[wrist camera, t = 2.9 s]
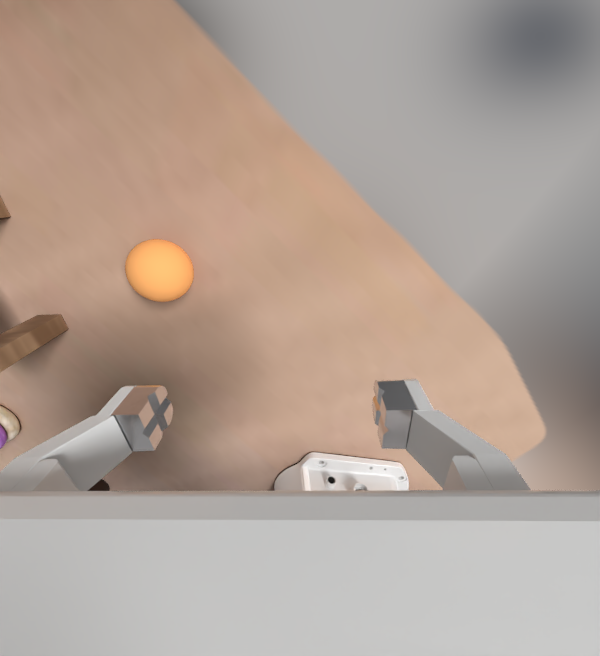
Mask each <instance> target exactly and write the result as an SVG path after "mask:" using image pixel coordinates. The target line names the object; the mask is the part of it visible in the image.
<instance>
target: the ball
mask: <svg viewBox="0 0 600 656" xmlns="http://www.w3.org/2000/svg"><path fill="white" fill-rule="evenodd" d="M125 271H126V276H127V279H128V281H129V283H130V285H131V286H132V287H133V289H134V290H135V291H136V292H137V293H139V294H140V295H142V296H143V297H145V298H147V299H150V300H153V301H158V302H167V301H172V300H175V299H177V298H179V297H181V296H182V295H184V294H185V293H186V292H187V291H188V289H189V288H190V286H191V284H192V282H193V277H194V269H193V265H192V262H191V260H190V258H189V256H188V255H187V254H186V252H185V251H184V250H183V249H182V248H180V247H179V246H178V245H176V244H174V243H172V242H170V241H166V240H161V239H152V240H147V241H144V242H142V243H140V244H138V245H137V246H135V247H134V248H133V249H132V250H131V252H130V253H129V255H128V257H127V260H126V265H125Z"/></svg>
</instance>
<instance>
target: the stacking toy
mask: <svg viewBox="0 0 600 656" xmlns="http://www.w3.org/2000/svg"><path fill="white" fill-rule="evenodd" d="M19 431H20V424H19V421H18V419H17V418H16V417H15V415H14V414H13V413H12V412H10V411H9V410H8V409H6V408H4V407H2V406H0V448H2V447H3V446H4V444H5V443H6V442H7V441H10V440H12V439H13V438H15V437H16V436H17V435H18V433H19Z"/></svg>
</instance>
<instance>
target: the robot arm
mask: <svg viewBox="0 0 600 656" xmlns="http://www.w3.org/2000/svg"><path fill="white" fill-rule="evenodd" d="M374 392H375V395H376V396H375V397H374V398H373V404H372V406H373V416H374V421H375V424H376V425H378V436H379V440H380V443H381V447H382V448H392V449H406V450H407V451H408V452H409V453H410V454H411V455H412V457H413V458H414V459H415V460H416V461H417V462H418V463H419V464H420V465H421V466H422V467H423V468H424V469H425V470H426V471H427V472H428V473H429V474H430V475H431V476H432V477H433V478H434V479H435V480H436V481H437V482H438V483H439V484H440V486H441V487H442V488H443V490H408V489H409V482H408V476H407V473H406V470H405V468H404V467H403V466H402V464H401V463H399V462H393V461H384V460H376V459H368V458H359V457H351V456H342V455H334V454H325V453H317V452H312V453H309V454H307V455H306V456H305V457H304V458H303V459H302V460H301V461H300V462H299V463H298V464H296V465H294V466H292V467H289V468H288V469H286V470H285V471H283V472H282V473H281V474H280V475H279V476H278V477H277V479H276V481H275V484H274V491H88V490H89V489H90V488H91V487H92V486H94V485H95V484H96V483H97V482H98V481H99V480H101V479H102V478H103V477H104V476H105V475H106V474H108V473H109V472H110V471H111V470H112V469H114V468H115V467H116V466H117V465H118V464H119V463H121V462H122V461H123V460H124V459H125V458H126V457H128V456H129V455H130V454H131V453H132V451H155V449H156V447H157V445H158V444H159V442H160V440H161V438H162V437H163V434H162V431H163V430H164V429H165V428H167V427H168V426H169V424H170V422H171V421H172V416H173V406H172V403H171V402H170V401H169V400H168V399H167V398H166V396H167V394H168V392H167V390H166V388H165V387H164V386H162V385H138V386H124V387H121V389H120V390H119V391H118V392H117V393H116V394H115V395H114V396H113V397H112V398H111V400H110V401H109V402H108V403H107V404H106V405H105V406H104V407H103V408H102V409H101V411H100V412H99V413H98V414H97V415H96V416H91V417H89V418H87V419H85V420H83V421H82V422H80V423H78V424H76V425H74V426H73V427H71V428H69V429H67V430H65V431H63V432H62V433H60V434H58V435H56V436H54V437H52V438H51V439H49V440H47V441H45V442H43V443H41V444H40V445H38V446H36V447H34V448H32V449H30V450H29V451H27V452H25V453H23V454H21V455H20V456H18V457H16V458H14V459H13V460H12V461H11V462H10V463H9V464H8V465H7V466H6V467H5V468H4V469H3V470H2V471H1V472H0V656H600V490H531V489H530V488H529V487H528V485H527V484H526V482H525V481H524V479H523V478H522V477H521V475H520V474H519V472H518V471H517V469H516V468H515V466H514V465H513V464H512V462H511V461H510V459H509V458H508V457H507V455H506V454H505V453H503V452H502V451H500V450H499V449H497V448H495V447H494V446H492V445H491V444H489V443H488V442H486V441H485V440H483V439H482V438H480V437H479V436H477V435H476V434H474V433H472V432H471V431H469V430H468V429H466V428H465V427H463V426H462V425H460V424H459V423H457V422H456V421H454V420H453V419H451V418H450V417H448V416H446V415H445V414H443V413H442V412H440V411H439V410H434V409H433V407H432V405H431V404H430V402H429V400H428V398H427V396H426V394H425V393H424V391H423V389H422V387H421V385H420V383H419V381H418V380H417V379H404V380H382V381H375V383H374Z"/></svg>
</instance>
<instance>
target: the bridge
mask: <svg viewBox="0 0 600 656" xmlns="http://www.w3.org/2000/svg"><path fill="white" fill-rule="evenodd" d="M5 217H11V216H10V214H9V212H8V210H7V208H6V206H5V204H4V203H3V201H2V199H1V197H0V218H5ZM66 330H68V327H67V325H66V323H65V321H64V319H63V317H62V316H61V314H59V315H37V316H35V317H33V318H31V319H29V320H27V321H25V322H23V323H21V324H19V325H17V326H15V327H14V328H12V329H10V330H8V331H6V332H4V333H2V334H0V372H1V371H3V370H4V369H6V368H8V367H9V366H11V365H12V364H14V363H16V362H17V361H19V360H20V359H22V358H23V357H25V356H27V355H28V354H30V353H31V352H33V351H34V350H36V349H38V348H39V347H41V346H42V345H44V344H46V343H47V342H49V341H50V340H52V339H53V338H55V337H57V336H58V335H60V334H61V333H63V332H64V331H66Z"/></svg>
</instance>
